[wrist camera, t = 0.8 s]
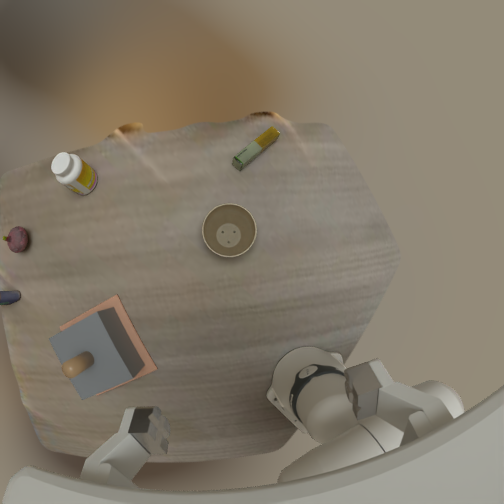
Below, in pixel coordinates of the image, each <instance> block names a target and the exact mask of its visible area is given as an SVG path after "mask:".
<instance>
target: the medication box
mask: <svg viewBox="0 0 504 504" xmlns="http://www.w3.org/2000/svg"><path fill="white" fill-rule="evenodd" d="M279 135H280V133H279V132H278V131H277V130H276V129H275V128H274V127H270V128H269V129H268V130H267V131H265V132H264V133H263V134H261V135H260V136H259V137H258V138H256V139H255V140H254V141H253V142H252V143H250V144H249V145H248V146H247V147H245V148H244V149H243V150H242V151H241V152H239V153H238V154H237V155H236V156H235V157H234V158H233V163H232V165H233V166H234V167H235V168H236V169H237V170H239V171H241V170H242V169H243V168H244V167H245V166H246V165H248V164H249V163H250V162H251V161H252V160H253V159H255V158H256V157H257V156H258V155H259V154H260V153H262V152H263V151H264V150H265V149H266V148H268V147H269V146H270V145H271V144H273V143H274V142H275V141H276V140H277V139H278V137H279Z"/></svg>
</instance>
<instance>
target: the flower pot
mask: <svg viewBox="0 0 504 504" xmlns="http://www.w3.org/2000/svg"><path fill="white" fill-rule="evenodd" d="M234 231H235V232H234ZM222 232H223V233H222ZM256 234H257V227H256V222H255V219H254V217H253V216H252V214H251V213H250V212H249V211H248V210H247V209H246V208H244V207H242V206H240V205H238V204H233V203H226V204H222V205H219V206H217V207H215V208H213V209H212V210H211V211H210V212H209V213H208V214H207V216H206V217H205V219H204V222H203V226H202V235H203V239H204V241H205V243H206V245H207V246H208V248H209V249H210V250H211V251H213V252H214V253H216V254H218V255H220V256H223V257H236V256H239V255H241V254H243V253H245V252H246V251H247V250H249V249H250V247H251V246H252V245H253V243H254V241H255V238H256ZM229 241H230V243H229Z"/></svg>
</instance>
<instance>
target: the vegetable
mask: <svg viewBox="0 0 504 504" xmlns="http://www.w3.org/2000/svg"><path fill="white" fill-rule="evenodd" d="M3 240H4V241H7V242H8V246H9V248H10V250H11V251H13V252H15V253H18V252H21V251H23V250H24V249H25V248H26V246H27V242H28V237H27V233H26V231H25V229H24V228H22V227H19V226H18V227H15V228H13V229H12V230H11V231H10V233H9V235H8V237H5V236H3Z"/></svg>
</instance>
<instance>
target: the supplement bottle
mask: <svg viewBox="0 0 504 504" xmlns="http://www.w3.org/2000/svg"><path fill="white" fill-rule="evenodd" d="M51 168H52V171H53V173H55V174H56V178H57V180H58V181H59V182H60V183H61V184H63V185H65V186H66V187H68V188H69V189H71V190H73V191H74V192H76V193H78V194H80V195H86V194H88V193H90V192H91V191H92V190H93V189H94V188H95V186H96V183H97V174H96V172H95V171H94V170H93V169H92V168H91V167H90V166H89V165H88V164H86V163H85V162H84V161H83V160H82V159H81V158H80V157H78V156H77V155H75V154H68V153H65V152H63V153H60V154H58V155H57V156H56V157H55V158H54V160H53V162H52V166H51Z"/></svg>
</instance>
